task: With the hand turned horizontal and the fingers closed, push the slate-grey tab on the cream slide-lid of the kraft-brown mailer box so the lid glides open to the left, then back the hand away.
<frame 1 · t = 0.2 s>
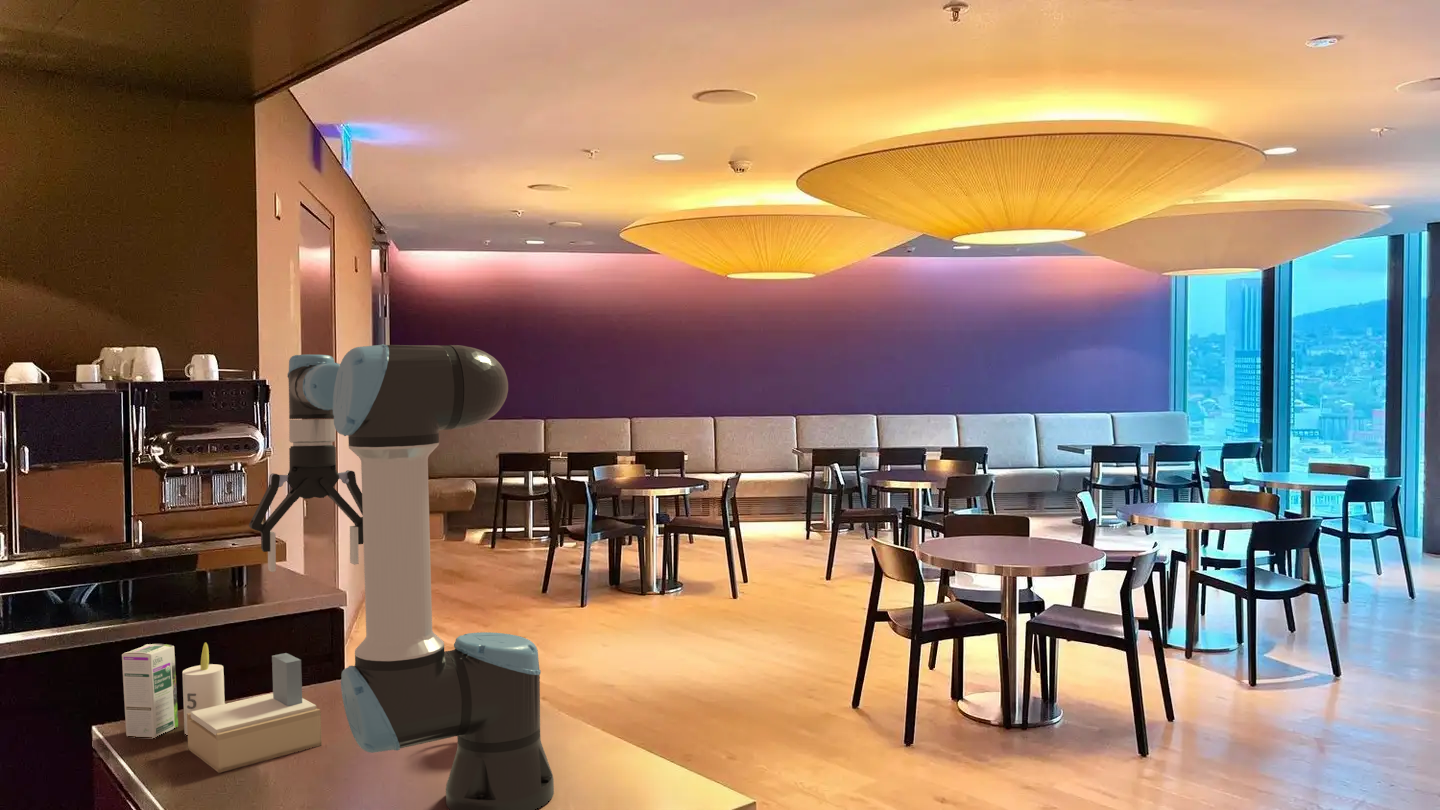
hand: (313, 567, 182), 27 cm above the counter, tool pointing down, fingers open, 13 cm apart
lid: (253, 689, 171), point 9 cm above the counter, slide at 0.0 cm
mailer box: (255, 747, 172), on the counter
candle: (204, 731, 180), on the counter
syrup box: (152, 733, 179), on the counter
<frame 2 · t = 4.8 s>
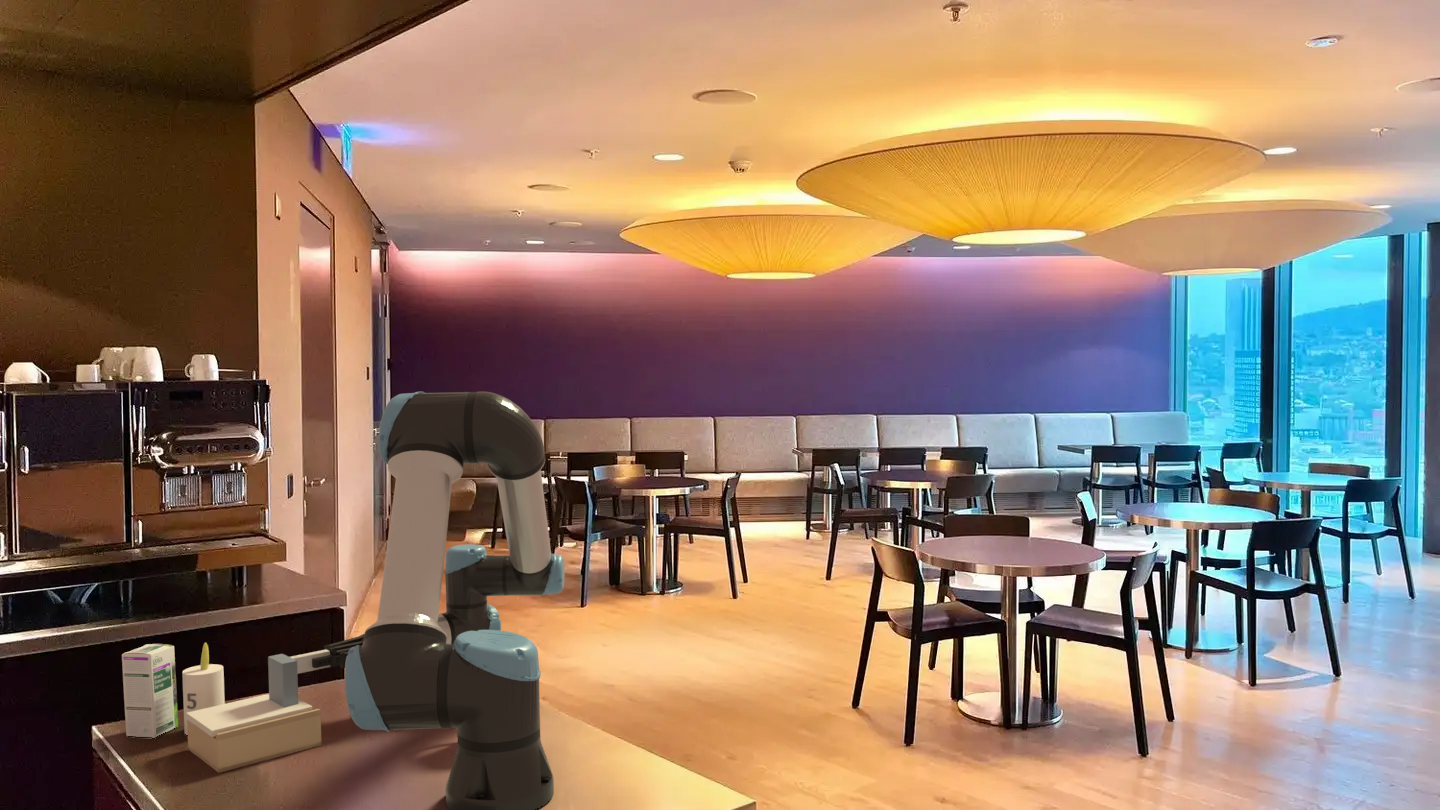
hand: (290, 666, 176), 12 cm above the counter, tool horizontal, fingers closed
lid: (249, 690, 171), point 10 cm above the counter, slide at 0.7 cm, touching gripper
everything else where it was.
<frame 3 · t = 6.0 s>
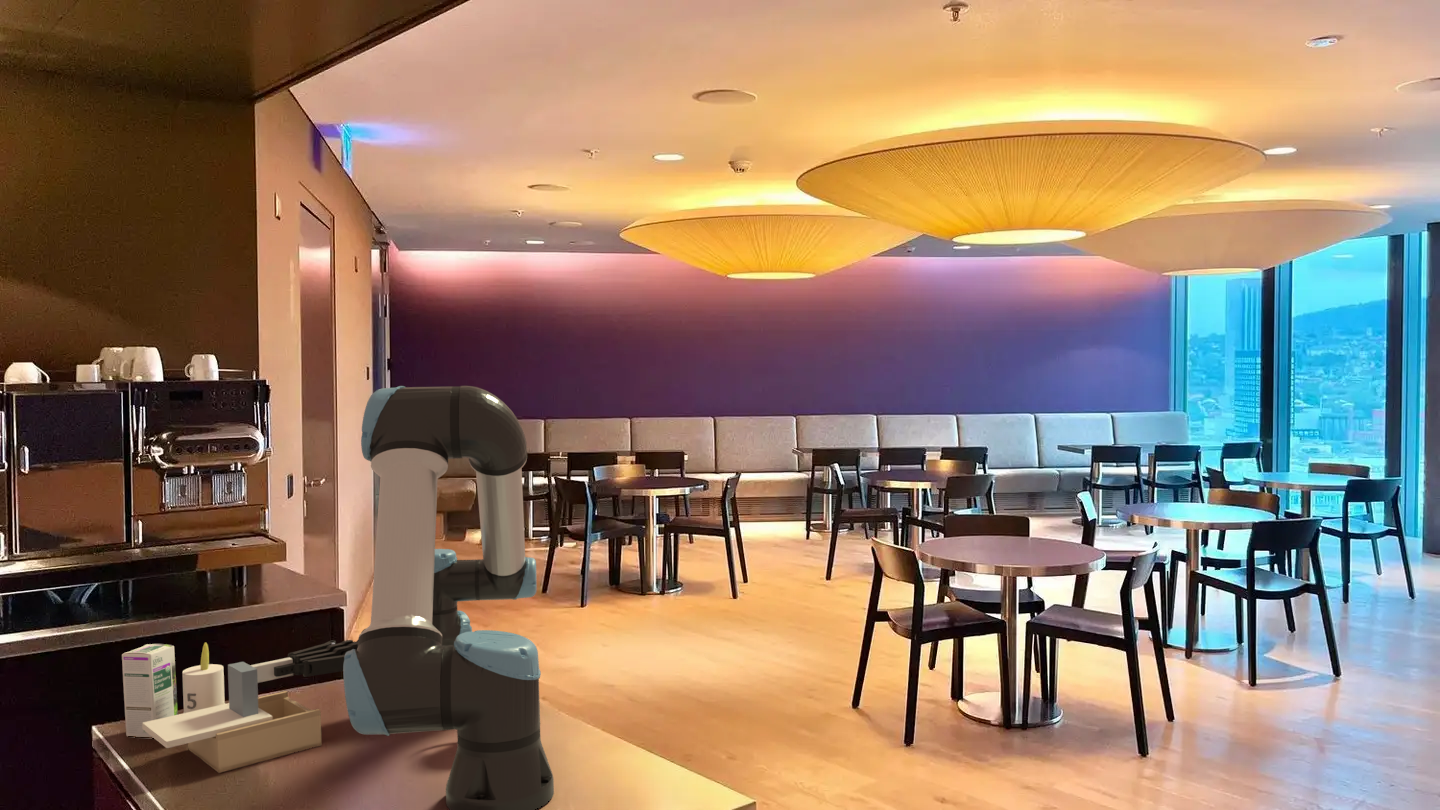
hand: (251, 674, 171), 12 cm above the counter, tool horizontal, fingers closed
lid: (207, 700, 166), point 10 cm above the counter, slide at 7.1 cm
everything else where it was.
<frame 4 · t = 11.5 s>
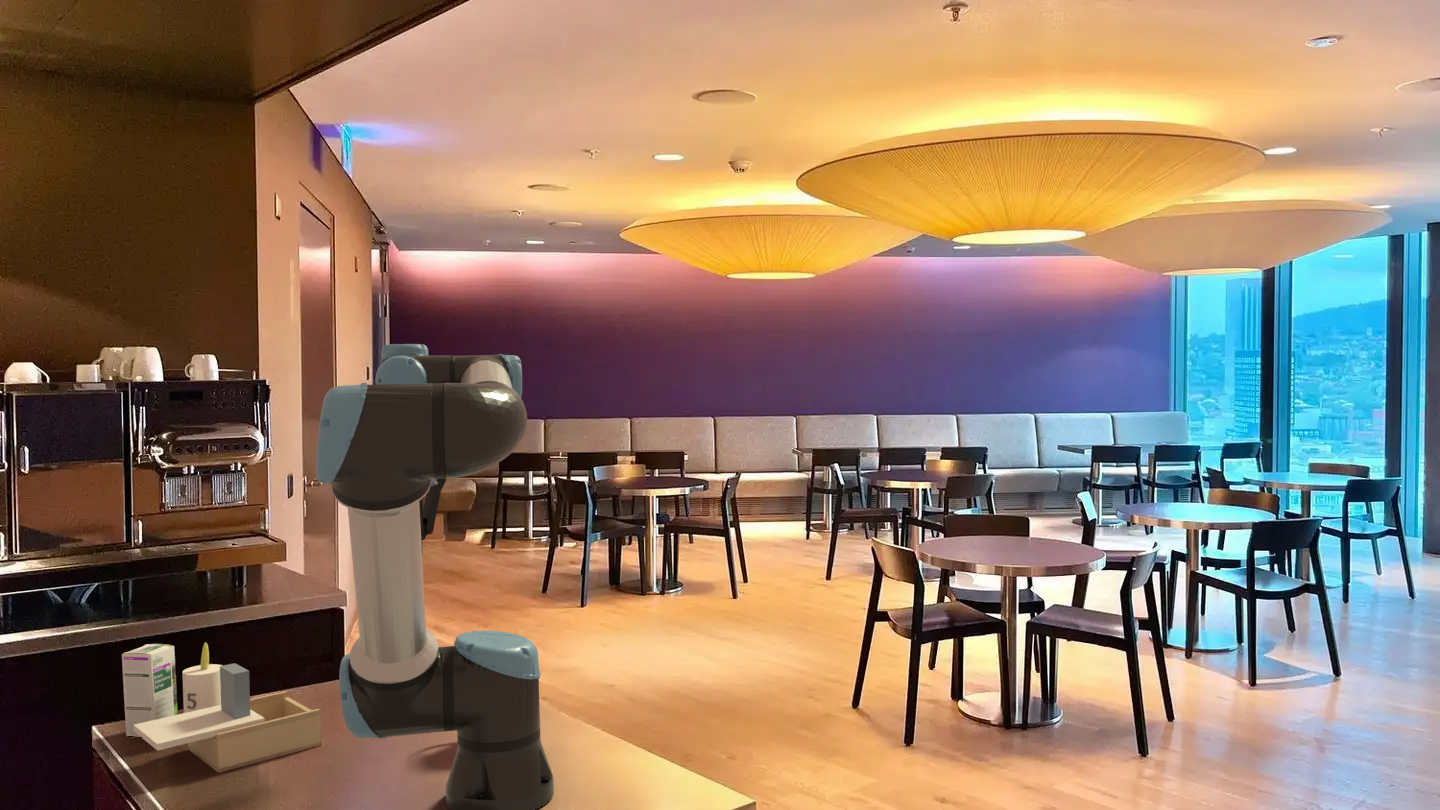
hand: (410, 578, 175), 26 cm above the counter, tool pointing down, fingers closed
lid: (198, 701, 166), point 9 cm above the counter, slide at 8.3 cm
everything else where it was.
at the end: lid slide at 8.3 cm; lid touching nothing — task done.
